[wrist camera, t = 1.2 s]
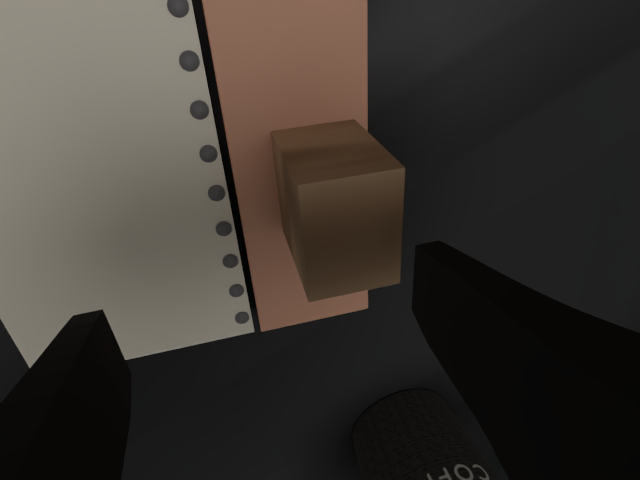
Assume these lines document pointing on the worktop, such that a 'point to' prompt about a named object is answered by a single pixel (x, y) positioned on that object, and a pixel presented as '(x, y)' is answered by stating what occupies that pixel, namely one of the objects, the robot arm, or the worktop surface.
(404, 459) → the coffee cup
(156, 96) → the pad
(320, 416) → the worktop surface
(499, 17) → the worktop surface
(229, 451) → the worktop surface
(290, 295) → the stub
